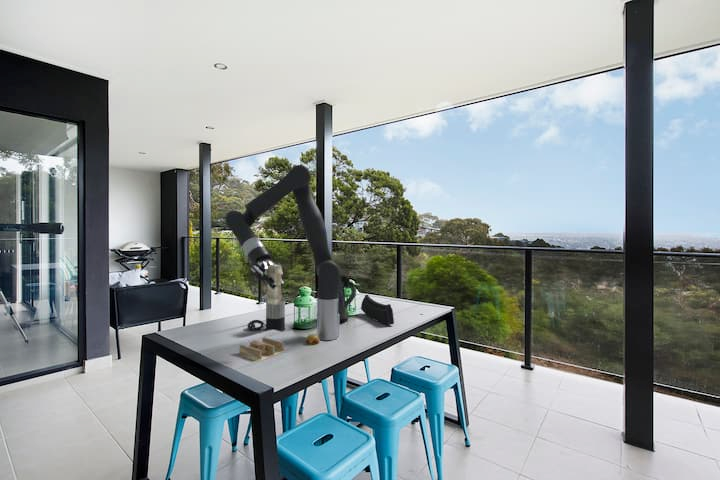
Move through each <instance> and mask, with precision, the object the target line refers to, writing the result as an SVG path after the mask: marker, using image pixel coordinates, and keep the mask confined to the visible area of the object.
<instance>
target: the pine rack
mask: <svg viewBox="0 0 720 480" xmlns="http://www.w3.org/2000/svg"><path fill="white" fill-rule="evenodd" d="M254 341H256V340H252V342H254ZM261 342H263V343H265V344H266V347H265V350H267V354H265V355H262V350H259V349H256V348H252V347H249V346H250V345H244V344H243V343H242V344H239V352H237V353H236V355H238V356H240V357H243V358H246V359H249V360H253V361H256V362H259V361H262V360H264V359H267V358H269V357H270V358H271V357H273V356H275V355H278V354H280V353H283V352H286V351H287V349H286V348H285V343H284V342H283V341H278V340H276V339H275V340H274V339H270V338H267V337H261Z"/></svg>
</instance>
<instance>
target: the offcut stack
mask: <svg viewBox="0 0 720 480" xmlns="http://www.w3.org/2000/svg"><path fill="white" fill-rule="evenodd" d="M253 341H254V340H253ZM253 341H251V342H249V345H248V346H249V347H252V348H256V349H259V350H262V355H265V354H267V350H265V347H266V344H265V343H263V342H262V341H259V340H255V341H254V342H253Z"/></svg>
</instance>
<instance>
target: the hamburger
mask: <svg viewBox="0 0 720 480" xmlns="http://www.w3.org/2000/svg"><path fill="white" fill-rule="evenodd" d="M305 340H306V341H305V342H306V344H307V345H318V344H319V343H320V339H319V337H318V335H317V333H316V334H315V333H312V334H309V335H307V336H306V339H305Z"/></svg>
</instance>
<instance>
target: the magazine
mask: <svg viewBox="0 0 720 480" xmlns="http://www.w3.org/2000/svg"><path fill="white" fill-rule="evenodd" d="M360 309H361V311H362V312H363V313H364V315H365V314H366V315H365V316H367V317H369V318H370V317H371V318H373V319H375V320H377V321H376V322H378V321H379V322H378V323H380V324H385V325H386V324H387V325H391V326H392V325H394V324H395V318H394V311H393V308H392V306H391V303H388V304H383V303H380V302H377V301H376V300H374V299H373V298H372V297H370V296H369V294H365V295H364V298H363V299H362V301H361V305H360ZM371 318H370V319H371ZM373 319H372V320H373ZM375 320H374V321H375Z"/></svg>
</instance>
